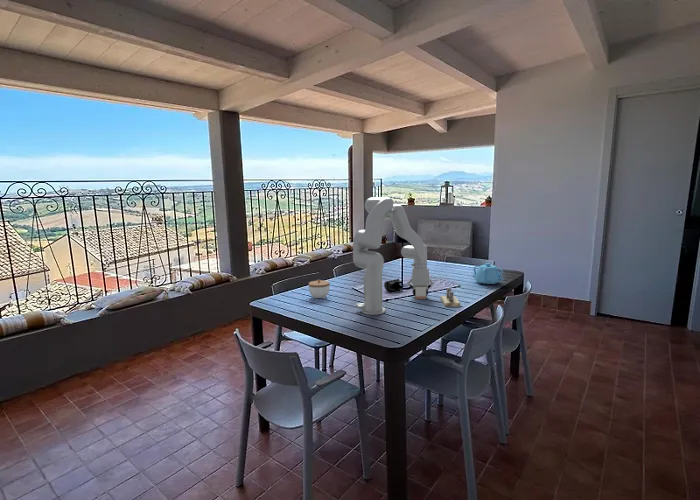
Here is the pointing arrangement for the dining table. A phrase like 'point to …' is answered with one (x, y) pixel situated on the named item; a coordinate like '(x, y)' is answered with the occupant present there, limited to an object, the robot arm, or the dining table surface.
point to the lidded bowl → (319, 288)
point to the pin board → (450, 304)
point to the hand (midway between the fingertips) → (420, 295)
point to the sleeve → (420, 292)
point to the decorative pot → (487, 274)
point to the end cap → (393, 285)
